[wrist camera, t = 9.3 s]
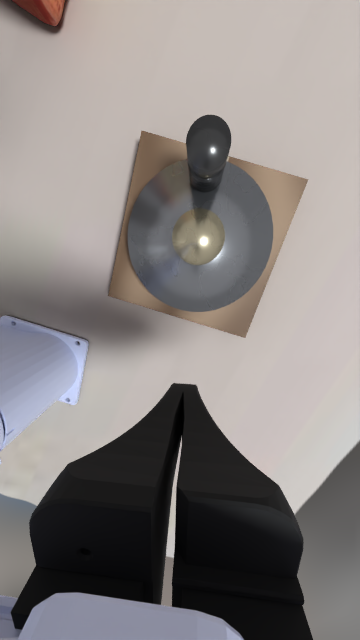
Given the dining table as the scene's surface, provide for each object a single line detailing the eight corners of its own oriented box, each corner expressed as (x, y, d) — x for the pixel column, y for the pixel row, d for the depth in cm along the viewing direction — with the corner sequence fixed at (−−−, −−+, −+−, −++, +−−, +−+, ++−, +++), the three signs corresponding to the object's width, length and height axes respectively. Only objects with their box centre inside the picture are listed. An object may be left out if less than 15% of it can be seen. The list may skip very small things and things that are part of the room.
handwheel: (253, 316, 17) (274, 331, 13) (129, 302, 18) (107, 312, 13) (281, 167, 15) (320, 120, 10) (135, 158, 15) (109, 109, 11)
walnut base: (114, 294, 20) (107, 295, 18) (146, 143, 16) (141, 129, 15) (241, 333, 19) (245, 338, 18) (298, 187, 16) (308, 179, 15)
